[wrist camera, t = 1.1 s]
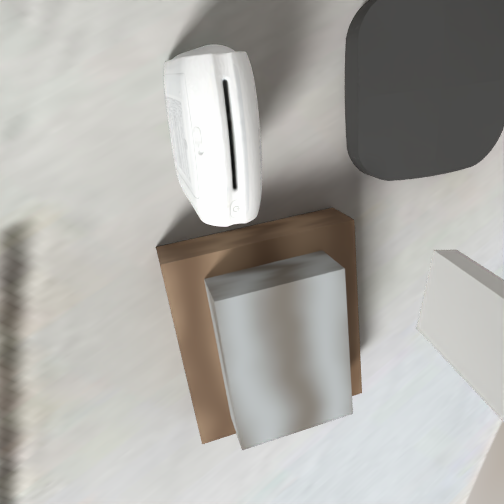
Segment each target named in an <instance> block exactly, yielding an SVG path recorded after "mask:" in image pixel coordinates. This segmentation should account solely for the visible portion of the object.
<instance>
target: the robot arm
mask: <svg viewBox="0 0 504 504" xmlns="http://www.w3.org/2000/svg"><path fill="white" fill-rule="evenodd" d="M416 329H417V330H418V331H419V332H420V333H421V334H422V335H423V336H424V337H425V338H426V340H427V341H428V342H429V343H430V344H431V345H432V346H433V347H434V348H435V349H436V350H437V351H438V352H439V353H440V354H441V356H442V357H443V358H444V359H445V360H446V361H447V362H448V363H449V364H450V365H451V366H452V367H453V368H454V369H455V371H456V372H457V373H458V374H459V375H460V376H461V377H462V378H463V379H464V380H465V381H466V382H467V383H468V384H469V385H470V387H471V388H472V389H473V390H474V391H475V392H476V393H477V394H478V395H479V396H480V397H481V398H482V399H483V400H484V401H485V403H486V404H487V405H488V406H489V407H490V408H491V409H492V410H493V411H494V412H495V413H496V414H497V415H498V416H499V418H500V419H501V420H502V421H503V422H504V280H503V279H502V278H500V277H498V276H497V275H495V274H494V273H492V272H491V271H489V270H488V269H486V268H484V267H483V266H481V265H480V264H478V263H477V262H475V261H473V260H472V259H470V258H469V257H467V256H466V255H464V254H463V253H461V252H459V251H458V250H434V252H433V256H432V260H431V265H430V269H429V274H428V278H427V283H426V287H425V291H424V296H423V300H422V305H421V309H420V314H419V318H418V322H417V327H416Z"/></svg>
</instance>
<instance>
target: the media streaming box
mask: <svg viewBox="0 0 504 504" xmlns="http://www.w3.org/2000/svg"><path fill="white" fill-rule="evenodd" d="M345 120H346V139H347V150H348V153H349V156H350V158H351V160H352V162H353V163H354V165H355V166H356V167H357V168H358V169H359V170H361V171H362V172H364V173H366V174H368V175H371V176H373V177H376V178H379V179H382V180H387V181H392V180H405V179H414V178H422V177H429V176H435V175H440V174H445V173H449V172H454V171H458V170H462V169H465V168H468V167H472V166H474V165H476V164H477V163H479V162H480V161H481V160H482V159H483V158H484V157H485V156H486V155H487V154H488V153H489V152H490V151H491V150H492V148H493V147H494V145H495V144H496V142H497V141H498V139H499V137H500V135H501V133H502V130H503V127H504V0H370V1H368V2H367V3H366V4H365V5H363V7H362V8H361V9H360V10H359V11H358V12H357V14H356V15H355V17H354V18H353V20H352V22H351V24H350V27H349V29H348V33H347V37H346V51H345Z"/></svg>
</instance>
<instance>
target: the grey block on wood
mask: <svg viewBox="0 0 504 504" xmlns="http://www.w3.org/2000/svg"><path fill="white" fill-rule="evenodd" d="M156 249H157V254H158V258H159V262H160V266H161V271H162V275H163V279H164V283H165V288H166V292H167V296H168V300H169V305H170V309H171V313H172V318H173V322H174V326H175V330H176V335H177V339H178V343H179V347H180V352H181V356H182V360H183V364H184V369H185V373H186V377H187V381H188V386H189V390H190V394H191V398H192V403H193V407H194V411H195V415H196V420H197V424H198V428H199V432H200V436H201V441H202V444H205V443H208V442H211V441H214V440H217V439H220V438H223V437H226V436H229V435H232V434H236V433H237V436H238V439H239V442H240V445H241V448H242V450H245V449H248V448H251V447H254V446H257V445H260V444H263V443H266V442H269V441H272V440H275V439H278V438H281V437H284V436H287V435H290V434H293V433H296V432H299V431H302V430H305V429H308V428H311V427H314V426H317V425H320V424H323V423H326V422H329V421H332V420H335V419H338V418H341V417H345V416H348V415H351V414H353V407H352V396H354V395H357V394H360V393H362V384H361V361H360V338H359V316H358V293H357V270H356V248H355V225H354V219H352V218H350V217H348V216H347V215H345V214H343V213H342V212H340V211H338V210H336V209H335V208H328V209H324V210H320V211H315V212H311V213H306V214H302V215H297V216H293V217H288V218H284V219H279V220H275V221H270V222H266V223H261V224H257V225H252V226H248V227H243V228H239V229H234V230H230V231H225V232H221V233H216V234H212V235H207V236H203V237H198V238H194V239H189V240H185V241H180V242H176V243H171V244H167V245H162V246H158V247H156Z"/></svg>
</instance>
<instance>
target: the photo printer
mask: <svg viewBox="0 0 504 504" xmlns="http://www.w3.org/2000/svg"><path fill="white" fill-rule="evenodd" d="M164 86H165V96H166V105H167V114H168V122H169V129H170V136H171V143H172V150H173V156H174V162H175V167H176V173H177V177H178V180H179V183H180V186H181V188H182V190H183V191H184V193H185V195H186V196H187V198H188V199H189V201H190V203H191V204H192V206H193V207H194V209H195V211H196V212H197V214H198V216H199V217H200V219H201V220H202V221H203V222H204V223H207V224H209V225H214V226H223V227H226V226H230V225H233V224H238V223H247V222H250V221H252V220H253V219H255V218H256V217H257V215H258V211H259V207H260V202H261V193H262V149H261V132H260V121H259V110H258V101H257V94H256V87H255V80H254V75H253V71H252V67H251V64H250V61H249V58H248V55H247V53H246V52H245V51H237V52H236V51H234V50H233V49H231V48H229V47H227V46H224V45H219V44H210V45H205V46H202V47H199V48H196V49H193V50H190V51H187V52H184V53H181V54H179V55H177V56H175V57H174V58H173V59H172V60H168V61H165V66H164Z"/></svg>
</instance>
